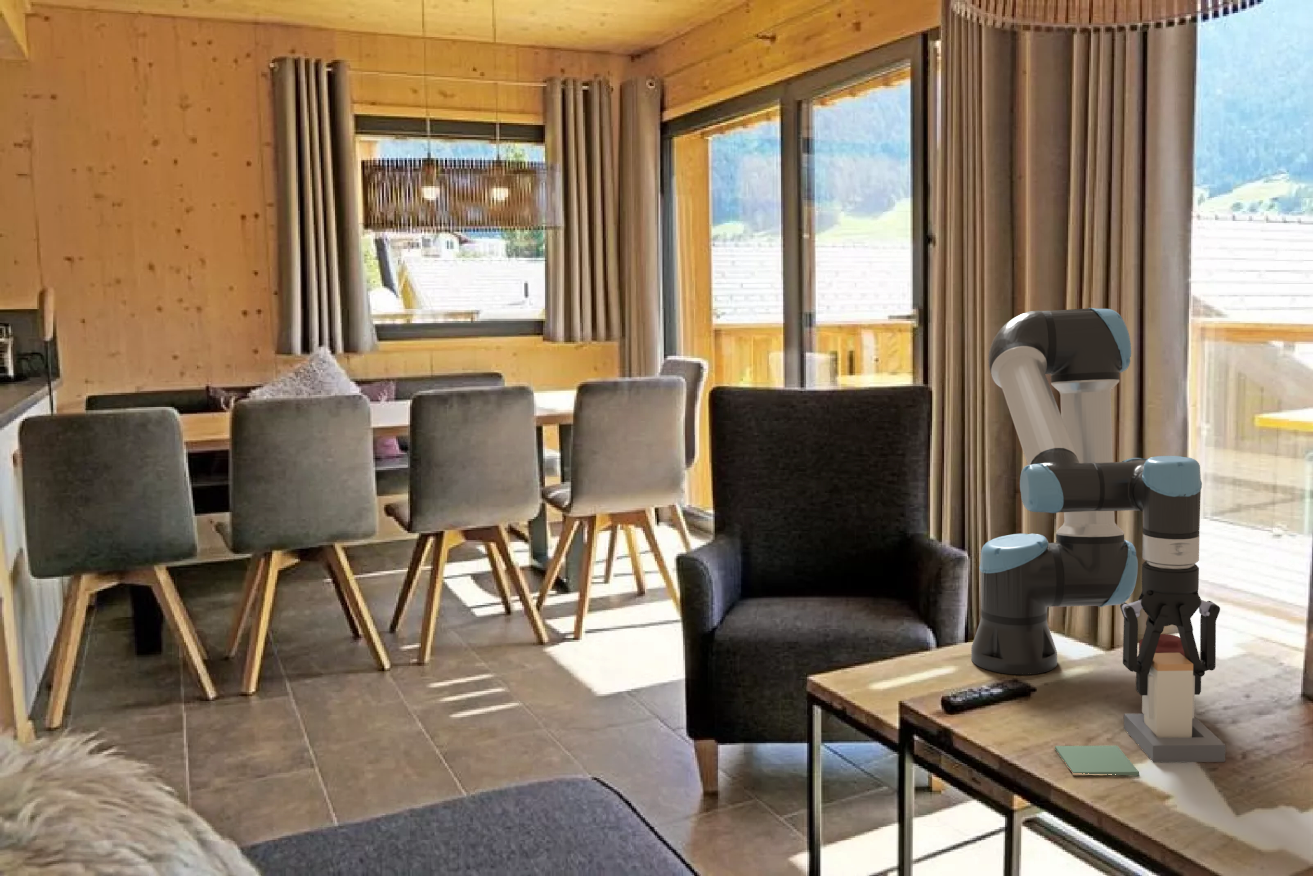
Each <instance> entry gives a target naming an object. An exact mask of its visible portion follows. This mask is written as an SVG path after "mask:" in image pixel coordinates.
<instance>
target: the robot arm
mask: <svg viewBox="0 0 1313 876" xmlns="http://www.w3.org/2000/svg"><path fill="white" fill-rule="evenodd" d="M988 351H989V352H988V359H987V360H988V368H989V371H990V374H991V375H990V376H991V378H992V380H993V382H994V383H995V385H996V386H998V387H999V388H1001V390H1002V393H1003V395H1004V399H1005V402H1006V406H1007V407H1008V409H1009V413H1010V416H1011V420H1012V423H1013V425H1014V428H1015V431H1016V434H1017V437H1018V440H1019V443H1020V446H1021V450H1022V452H1023V455H1024V458H1025V460H1026V465H1025V466H1024V467H1023V468H1022V470H1021V473H1020V478H1019V491H1020V496H1021V497H1020V499H1021V501H1022V502H1021V503H1022V505H1023V506H1024V508H1025V509H1026V510H1027V511H1029V512H1033V513H1049V514H1057V513H1063V519H1064V520H1063V521H1064V522H1063V524H1062V525H1061V526H1060V527H1059V528H1058V529H1057V530H1056V532H1055V542H1049V541H1048V539H1047V537H1045V536H1044V535H1043V534H1039V533H1029V534H1028V533H1013V534H1012V533H1011V534H1008V535H1002V536H998V537H994V538H993V539H990V540H988V541H987V542H985V544H983V546H982V548H981V550H980V563H979V567H978V569H979V571H980V620H979V624H978V626H977V629H976V633H975V635H974V638H973V642H972V644H971V650H970V651H971V654H970V655H971V656H970V657H971V662H972V663H973V664H975V665H976V666H978V667H980V668H982V669H984V670H987V671H991V672H994V673H995V672H996V673H1000V674H1008V675H1036V674H1042V673H1043V674H1044V673H1046V672H1050V671H1052V670H1054V669H1055V668H1056V667H1057V666H1058V651H1057V648H1056V644H1055V641H1054V639H1053V636H1052V634H1051V633H1052V632H1051V630H1050V628H1049V623H1048V608H1049V607H1052V608H1053V607H1086V606H1089V607H1090V606H1091V607H1093V606H1095V607H1099V608H1103V607H1106V606H1117V605H1119V608H1120V611H1121V614H1122V617H1123V638H1122V643H1123V644H1122V645H1123V646H1122V648H1123V649H1122V664H1123V666H1125V668H1126V669H1127V670H1128V671H1130V672H1134V673H1135V674H1136V675H1135V685H1136V686H1135V690H1136V691H1137V694H1138V695H1140V696H1142V698H1141V699H1142V701H1141V702H1142V703H1141V712H1142V714H1145V715H1146V716H1147V718H1148V719H1154V676H1153V675H1152V674H1151V673H1150V668H1151V665H1152V661H1153V658H1154V655H1155V651H1156V648H1157V644H1158V641H1159V637H1160V634H1163V632H1164V629H1165V627H1170V626H1176V628H1177V630H1178V631H1177V632H1178V634H1179V635H1178V636H1179V637H1180V639H1181V643H1182V647H1183V650H1184V654H1185V658H1187V659H1188V660H1189V661H1190V662H1192V663H1193V702H1192V718H1194V716H1195V697H1196V695H1197V696H1198V695H1200V694H1201V692H1202V678H1203V677H1204V676H1205V673H1206V672H1207V671H1214V670H1215V669H1216V664H1217V663H1216V662H1217V661H1216V660H1217V659H1216V657H1217V656H1216V655H1217V654H1216V646H1217V644H1216V640H1217V638H1216V637H1217V636H1216V635H1217V627H1216V626H1217V624H1216V623H1217V619H1218V617H1219V614H1220V612H1221V607H1220V606H1219V605H1217V604H1216V603H1214V602H1213V601H1212V600H1207V601H1206V600H1202V598H1201V597H1200V595H1199V587H1200V586H1199V581H1200V580H1199V579H1200V567H1199V566H1198V565H1197V563H1198V562H1199V561H1200V529H1201V527H1200V525H1201V524H1200V522H1201V519H1200V518H1201V493H1202V492H1201V491H1202V486H1203V483H1202V478H1201V464H1200V463H1199V461H1197V459H1195V458H1193V457H1184V456H1180V455H1157V456H1151V457H1149V458H1141V457H1131V458H1126V459H1124V460H1122V461H1114V460H1113V459H1114V457H1113V456H1114V455H1113V428H1112V427H1113V426H1112V425H1113V424H1112V423H1113V422H1112V421H1113V420H1112V395H1111V394H1112V390H1113V388H1115V387H1116V385H1118V384H1119V383H1120V373H1123V372H1125V371H1127V369H1128V368H1129V367H1130V364H1131V357H1132V343H1131V338H1130V333H1129V330H1128V327H1127V325H1126V322H1125V321H1124V319H1123V318H1122V316H1121V314H1119V312H1117V311H1116V310H1114V309H1112V308H1111V309H1110V308H1095V307H1088V308H1073V309H1055V310H1031V311H1026V312H1023V313H1021V314H1018V315H1016V316H1015V317H1013V318H1011V319H1010V320H1009V321H1007V322H1006V323H1005V324H1004V325H1003V326H1002V327H1001V328H1000V329H999V331H997V334H996V335H995V336H994V338H993V339H992V342H991V345H990V348H989V350H988ZM1047 375H1050V383H1049V381H1048V378H1047ZM1050 385H1051V386H1052V387H1053V388H1054V389H1055V390H1057V391H1058V393H1059V395H1060V397H1059V398H1060V408H1059V407H1058V404H1057V402H1056V401H1057V400H1056V399H1055V396H1054V393H1053V391H1052V388H1051V386H1050ZM1059 409H1060V410H1059ZM1116 511H1117V512H1118V511H1119V512H1121V511H1123V512H1124V511H1141V512H1142V545H1141V547H1142V549H1141V553H1142V554H1141V558H1142V559H1143V560H1144V562H1143V563H1142V564H1141V593H1140V595H1139V597H1138V599H1137V600H1136V601H1132V602H1129V603H1127V601H1128V600H1129V599H1130V598H1131V595H1132V594H1133V592H1134V590H1135V587H1136V584H1137V577H1138V570H1139V563H1138V562H1139V560H1138V556H1137V550H1136V547H1135V546H1134V544H1133V543H1132V542H1131V541H1129V540H1127V539H1125V531H1124V530H1123V529H1122V528H1120V527H1119V525H1118V524H1117V523H1116V521H1115V519H1116V518H1115V512H1116ZM1198 609H1199V610H1198ZM1141 610H1143V611H1144V612H1145V613H1146V615H1147V619H1146V622H1145V625H1146V627H1145V631H1144V634H1143V638H1142V639H1143V640H1142V644H1141V647H1140V651H1139V650H1138V644H1139V640H1138V639H1139V637H1138V636H1139V621H1138V618H1139V617H1140V615H1141ZM1197 610H1198V612H1199V614H1200V620H1199V621H1200V625H1199V628H1200V631H1199V632H1200V633H1199V634H1200V636H1199V637H1200V640H1199V642H1200V643H1199V645H1200V646H1199V647H1200V648H1199V649H1200V650H1199V651H1198V647H1196V646H1197V643H1196V639H1195V636H1194V632H1193V631H1194V628H1193V624H1192V619H1191V618H1192V617H1193V616H1194V614H1195V613H1196V612H1197ZM1199 653H1200V654H1199ZM1137 656H1138V658H1137Z"/></svg>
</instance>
